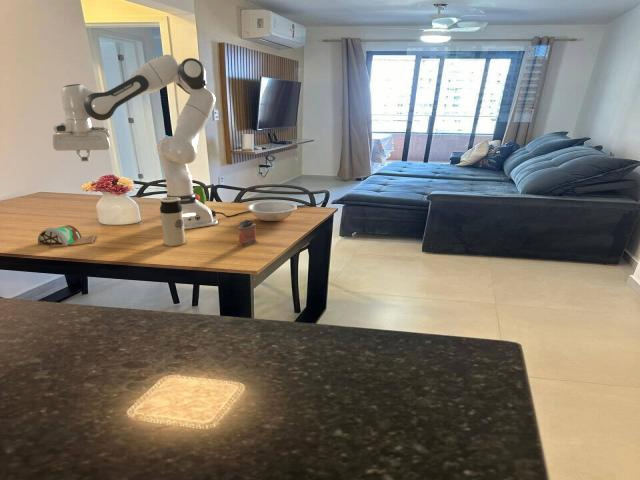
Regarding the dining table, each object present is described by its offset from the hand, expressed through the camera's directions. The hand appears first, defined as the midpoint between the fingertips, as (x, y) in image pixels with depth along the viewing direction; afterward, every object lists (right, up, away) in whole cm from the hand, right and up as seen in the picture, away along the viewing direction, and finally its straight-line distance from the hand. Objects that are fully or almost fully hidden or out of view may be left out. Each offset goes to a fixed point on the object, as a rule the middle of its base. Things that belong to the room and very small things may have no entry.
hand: (85, 161), depth 160 cm
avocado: (+33, -16, +47) cm, 60 cm away
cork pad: (+1, -34, -9) cm, 35 cm away
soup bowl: (+75, -23, +27) cm, 83 cm away
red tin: (+69, -35, -7) cm, 78 cm away
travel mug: (+41, -35, -8) cm, 54 cm away
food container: (-3, -29, -5) cm, 29 cm away
